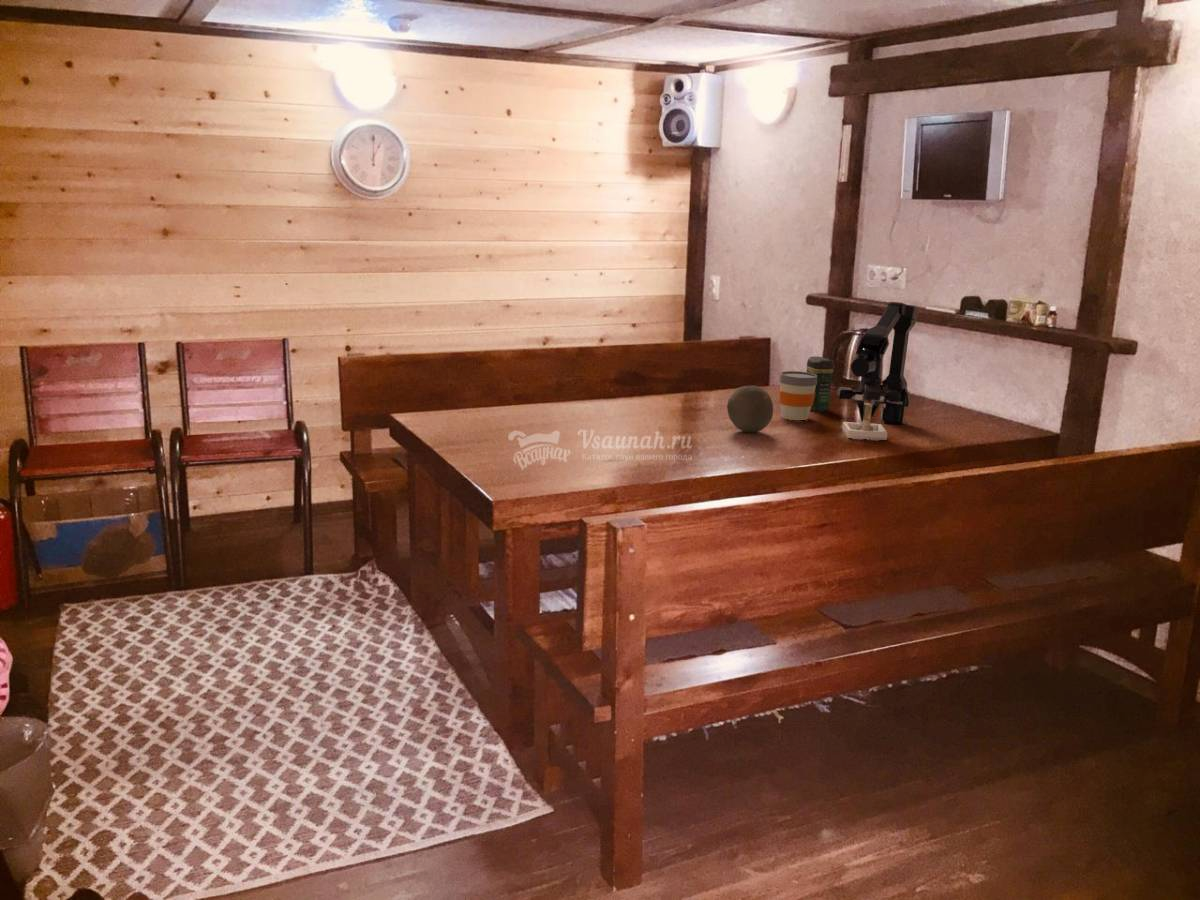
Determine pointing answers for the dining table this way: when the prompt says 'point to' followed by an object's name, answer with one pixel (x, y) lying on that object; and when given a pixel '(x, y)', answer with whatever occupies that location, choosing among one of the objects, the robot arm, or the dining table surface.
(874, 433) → the dish
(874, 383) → the robot arm
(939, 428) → the dining table surface
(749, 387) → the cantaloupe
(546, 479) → the dining table surface
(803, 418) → the reusable coffee cup
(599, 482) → the dining table surface
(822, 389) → the coffee jar
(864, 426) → the tan cuboid brick
